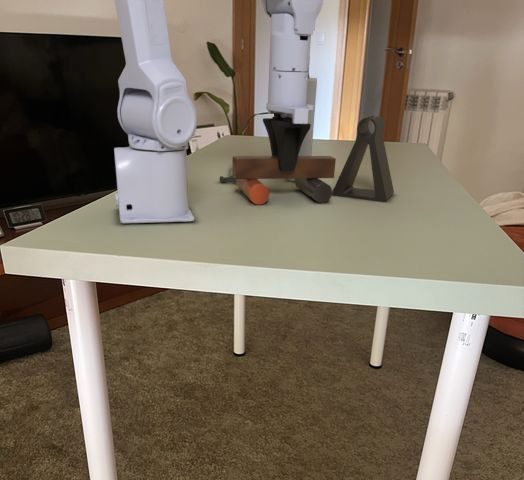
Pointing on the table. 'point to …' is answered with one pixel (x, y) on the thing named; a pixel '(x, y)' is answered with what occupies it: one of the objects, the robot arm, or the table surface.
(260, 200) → the rods
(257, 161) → the bar
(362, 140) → the dark grey triangle stand
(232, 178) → the tomahawk
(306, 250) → the table surface
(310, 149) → the vintage mobile phone
